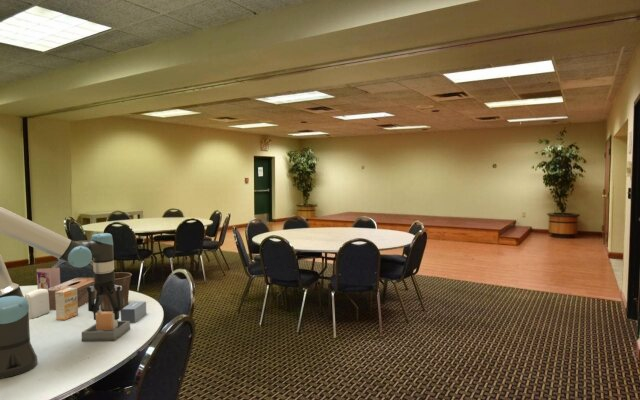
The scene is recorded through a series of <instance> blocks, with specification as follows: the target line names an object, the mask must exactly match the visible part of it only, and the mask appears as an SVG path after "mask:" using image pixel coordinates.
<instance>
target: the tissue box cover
mask: <svg viewBox="0 0 640 400" xmlns="http://www.w3.org/2000/svg"><path fill="white" fill-rule="evenodd" d="M94 284H95V282H94V277H75V278H73V279H70V280H67V281H64V282H62V283H60V284H59V285H56V286H54V287H51V288H49V289H47V290H48V293H49V308H50V311H56V299H55V292H57V291H60V290H63V289H67V288H77V298H78V308H80V307H82V306H84V305H86V304H88V291H87V288H88V287H90V286H94ZM94 291H95V300H96V294H97V291H96V289H95V290H94ZM85 303H86V304H85Z"/></svg>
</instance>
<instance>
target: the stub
mask: <svg viewBox="0 0 640 400" xmlns="http://www.w3.org/2000/svg"><path fill="white" fill-rule="evenodd" d="M112 312H114V311H105V310H104V311H103V310H102V311H101V313H100V314H98V315H96V320H95V323H96V322H97V330H112V329H113V325H112Z"/></svg>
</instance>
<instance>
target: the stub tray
mask: <svg viewBox="0 0 640 400" xmlns="http://www.w3.org/2000/svg"><path fill="white" fill-rule="evenodd" d="M130 330H131V323H130V321H121V320H118V326H117V327H116V328H115V329H112V330H97V329H96V323H94V324H92V325H91V326H89V327H88V328H87V329H84V330H83V331H81V342H115V341H117V340H118V339H119V338H120V337H122V336H123V335H125V334H126V333H127V332H128V331H130Z"/></svg>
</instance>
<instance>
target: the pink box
mask: <svg viewBox="0 0 640 400" xmlns="http://www.w3.org/2000/svg"><path fill="white" fill-rule="evenodd" d="M60 270H61V269H60V267H51V268H50V267H47V268H36V283H37V284H36V285H37V286H36V287H37V289H49V288H51V287H54V286H56V285H59V284H61V271H60Z"/></svg>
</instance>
